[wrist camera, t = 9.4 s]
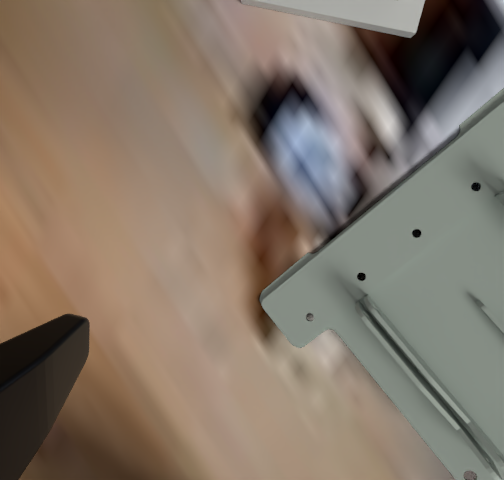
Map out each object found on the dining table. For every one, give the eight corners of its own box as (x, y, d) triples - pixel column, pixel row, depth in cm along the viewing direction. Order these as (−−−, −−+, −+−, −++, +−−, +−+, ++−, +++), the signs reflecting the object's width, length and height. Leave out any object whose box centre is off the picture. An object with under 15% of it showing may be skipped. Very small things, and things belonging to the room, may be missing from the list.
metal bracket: (862, 349, 13) (456, 574, 17) (717, 315, 19) (435, 488, 22) (527, 32, 16) (231, 285, 19) (487, 85, 21) (263, 273, 25)
